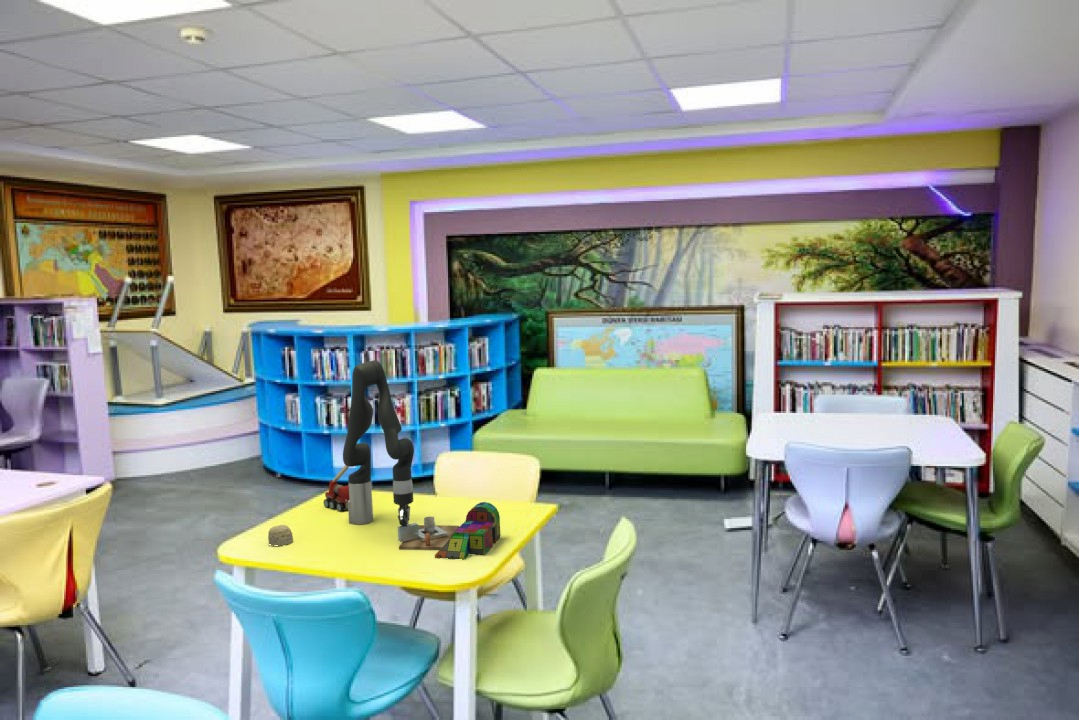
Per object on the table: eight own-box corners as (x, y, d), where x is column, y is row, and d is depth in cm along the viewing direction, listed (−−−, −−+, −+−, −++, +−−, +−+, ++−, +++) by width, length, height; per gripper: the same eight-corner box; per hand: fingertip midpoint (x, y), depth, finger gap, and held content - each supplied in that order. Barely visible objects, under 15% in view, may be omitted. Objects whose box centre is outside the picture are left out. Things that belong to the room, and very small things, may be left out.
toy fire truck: (342, 513, 341) (339, 473, 339) (322, 507, 351) (320, 468, 349) (364, 506, 349) (361, 468, 347) (344, 501, 360) (341, 463, 358)
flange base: (398, 549, 292) (397, 528, 291) (418, 528, 317) (417, 508, 316) (443, 550, 290) (442, 528, 289) (459, 528, 314) (458, 508, 313)
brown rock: (269, 552, 305) (257, 537, 299) (282, 533, 312) (270, 517, 306) (288, 555, 302) (276, 539, 295) (300, 534, 308) (289, 519, 302)
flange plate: (436, 528, 310) (436, 515, 310) (447, 535, 301) (447, 521, 301) (394, 537, 301) (393, 523, 300) (404, 545, 292) (403, 530, 292)
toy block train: (459, 536, 306) (457, 500, 304) (500, 538, 302) (499, 502, 300) (434, 558, 282) (432, 520, 280) (479, 561, 278) (477, 522, 276)
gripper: (409, 495, 294) (412, 539, 296) (415, 485, 307) (418, 528, 309) (389, 495, 294) (392, 540, 296) (396, 486, 307) (399, 528, 309)
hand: (405, 534), depth 303 cm, fingers closed
